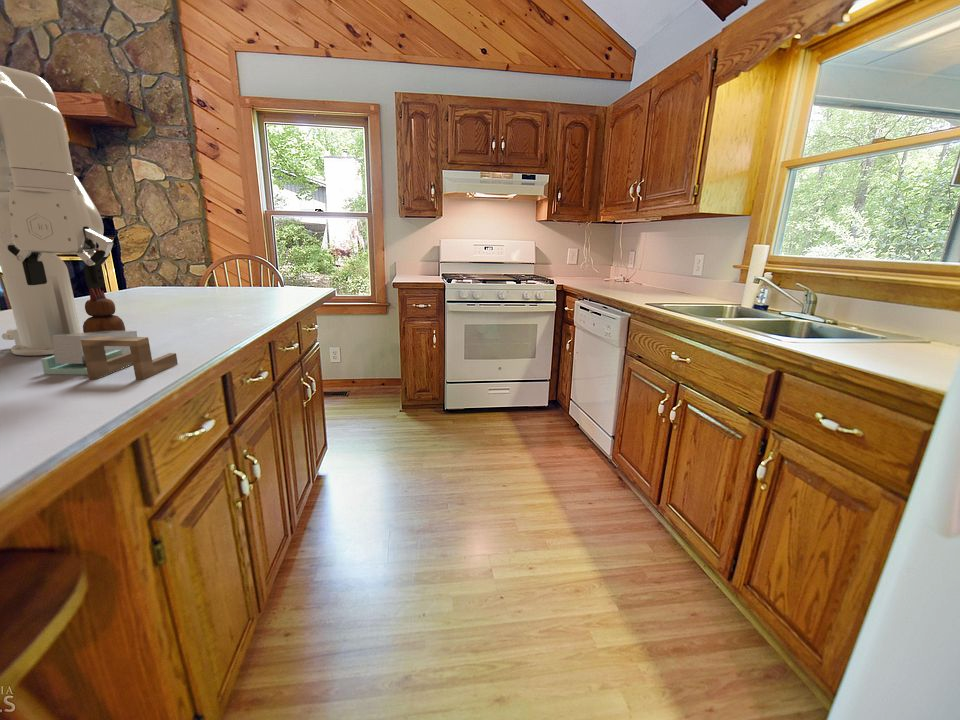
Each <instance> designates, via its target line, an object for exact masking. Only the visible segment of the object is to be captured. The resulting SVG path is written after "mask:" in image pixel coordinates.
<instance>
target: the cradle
mask: <svg viewBox="0 0 960 720" xmlns="http://www.w3.org/2000/svg"><path fill="white" fill-rule="evenodd" d="M105 354H106V359H107V360H108V359H111V358H113V357H116V356H119V355H122V350H115V351H112V352H109V353H105ZM40 361H41V365H42V368H43V373H44V374H45V375H88V372H87V368H86V363H84V364H69V363H55V357H54V354H52V355H51V356H50V355H49V356H46V357H44V358H43V357H42V358H40Z"/></svg>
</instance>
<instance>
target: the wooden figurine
mask: <svg viewBox="0 0 960 720" xmlns="http://www.w3.org/2000/svg"><path fill="white" fill-rule="evenodd" d="M88 292H89V299H87V301H85V304H84V310H85V312H86V314H87V315H88V316H89V317H88V318H87V319H86V320H84V322H83V325H82V333H89V332H101V331H113V330H115V331H127V330H126V325H125V322H124V321H123V319H122V318H121V317H120V316H118V315H115V312H116V304H115V303H114V300H112V299H110V298H107V297H106V295H105V292H104V290H101V287H99V288H93V289H92V288H88Z"/></svg>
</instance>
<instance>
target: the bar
mask: <svg viewBox="0 0 960 720" xmlns="http://www.w3.org/2000/svg"><path fill="white" fill-rule="evenodd" d="M93 336H110V337H138V331H137V330H126V331H115V330H113V331H101V332H89V333H83V332H81V333H76V334H64V335H52V338H53V347H54V354H53V355H54V357H55V363H69V364H84V363H85V358H84V354H83V349H82V345H81V340H82V339H86V338H90V337H93ZM104 349H105V353H109V352H112V351H115V350H122V354H125V353H131V350H130V346H104Z"/></svg>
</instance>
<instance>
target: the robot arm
mask: <svg viewBox="0 0 960 720" xmlns="http://www.w3.org/2000/svg"><path fill="white" fill-rule="evenodd" d="M56 99H57V98H56V96H55V93H54V91H53V88H52V87H51V86H50V84H49V83H47V82H46V80H45V79H43V78H42V77H40V76H39V75H37V74H35V73H32V72H29V71H26V70H25V71H24V70H21V69H17V68H13V67H9V66H8V67H7V66H4V65H0V269H1V273H2V275H3V281H4V283H5V287H6V288H5V289H6V292H7V295H8V299H9V303H10V306H11V310H12V315H13V319H14V321H15V322H14V323H15V327H16V329H11V328H10V329H7V331H6V332H5V333H2V335H1V339H2V340H5V341H9V340H10V341H11V340H12V341H13V340H14V343H15V345H13V346H12V347H10V351H11V353H12V354H13V355H17V356H24V357H25V356H28V357H29V356H34V357H35V356H48V355H49V356H50V355H51V356H52V355H54V347H53V338H52V335H64V334H76V333H82V329H81V324H80V320H79V316H78V311H77V306H76V302H75V301H76V300H75V297H74V293H73V292H74V291H73V288H72V283H71V277H70V273H69V269H68V267H67V265H66V263H65V261H64V260H63V259H62V258H61V257H59V256H58V255H56V254H59V255H60V254H61V255H69V254H70V255H72V254H76V255H77V257H79V258H80V259H81V261H82V262H84V264H86V265H83V266H82V267H83V268H82V269H83V273H84V279H85V284H86V287H87V288H88V289H89V288H92V289H93V288H104V287H105V276H104V271H103V266H102V265H105V264H106V261H107V259H108V258H110V256H111V251H112V248H113V246H114V241H113V240H111V239H110V238H108V237H106V236H104V232H105V230H104V229H105V228H104V223H103V219H102V216H101V214H100V212H99V210H98V208H97V207H96V205H95V203H94V202H93V200H92V198H91V197H90V195H89V194H88V192H87V191H86V189H85V187H84V186H83V184H82V183H81V181H80V179H79V178H78V177H77V176H76V175H75V172H74V167H73V162H72V157H71V152H70V148H69V147H70V146H69V136H68V133H67V128H66V126H65V122H64V117H63V115H62V113H61V112H60V110H59V109H58V104H57V100H56ZM97 245H98V250H96V249H97Z"/></svg>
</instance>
